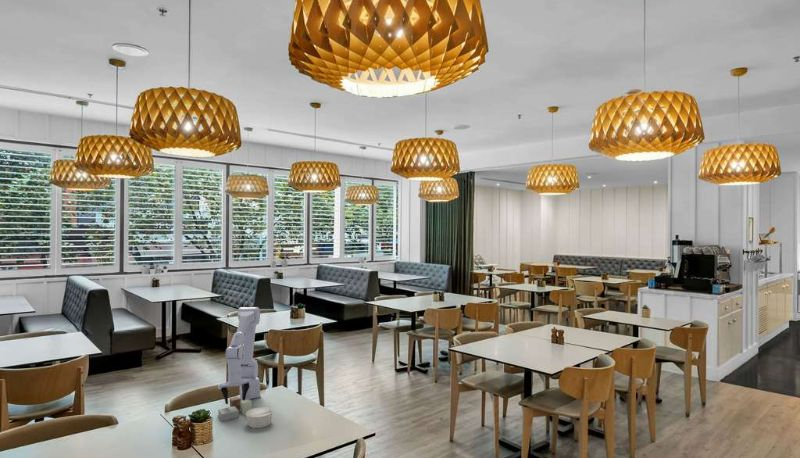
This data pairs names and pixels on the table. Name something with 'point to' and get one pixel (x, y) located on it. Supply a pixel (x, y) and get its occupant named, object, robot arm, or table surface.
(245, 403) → the sage block
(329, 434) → the table surface
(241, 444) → the table surface
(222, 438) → the table surface
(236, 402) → the walnut block
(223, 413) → the plinth block
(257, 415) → the ramekin
